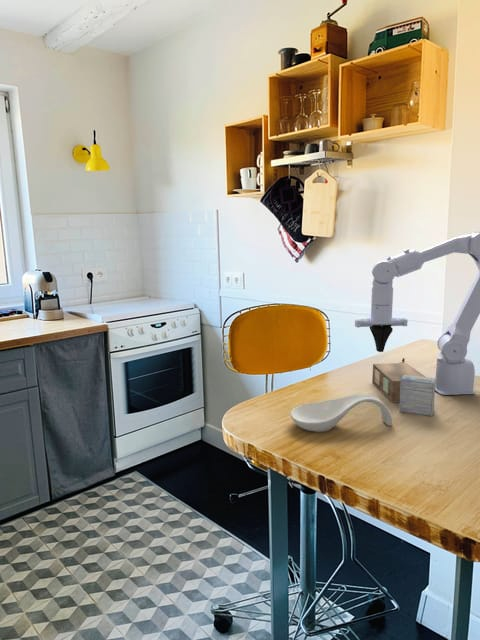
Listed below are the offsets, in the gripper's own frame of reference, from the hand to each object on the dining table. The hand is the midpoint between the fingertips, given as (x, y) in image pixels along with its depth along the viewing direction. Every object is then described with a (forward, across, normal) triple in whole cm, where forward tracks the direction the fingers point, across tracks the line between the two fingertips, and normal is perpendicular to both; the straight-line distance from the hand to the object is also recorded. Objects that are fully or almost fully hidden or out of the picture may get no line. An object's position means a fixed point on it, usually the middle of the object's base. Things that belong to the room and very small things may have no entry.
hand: (379, 351), depth 141 cm
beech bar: (+9, -3, +2) cm, 10 cm away
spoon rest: (+11, +18, +26) cm, 34 cm away
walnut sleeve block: (+10, -4, +5) cm, 12 cm away
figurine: (+11, -10, -9) cm, 17 cm away
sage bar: (+9, -3, +9) cm, 13 cm away
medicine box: (+11, -3, +20) cm, 23 cm away
